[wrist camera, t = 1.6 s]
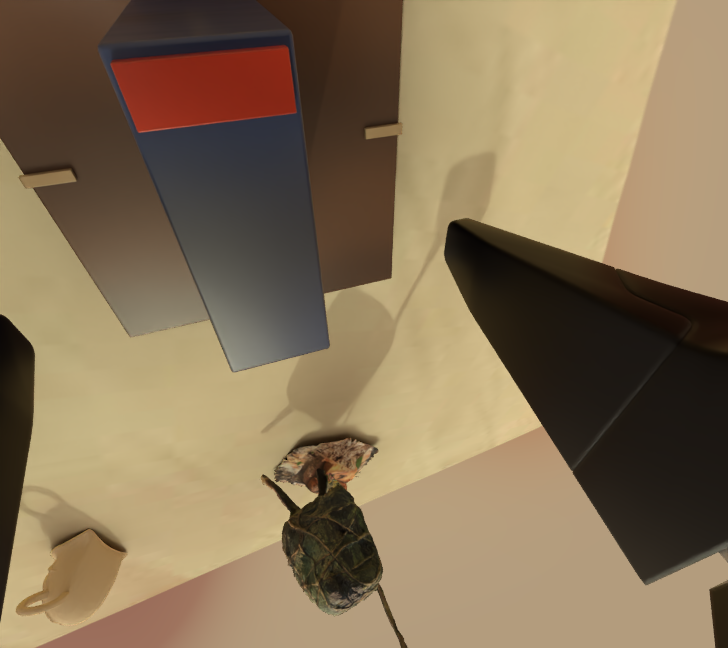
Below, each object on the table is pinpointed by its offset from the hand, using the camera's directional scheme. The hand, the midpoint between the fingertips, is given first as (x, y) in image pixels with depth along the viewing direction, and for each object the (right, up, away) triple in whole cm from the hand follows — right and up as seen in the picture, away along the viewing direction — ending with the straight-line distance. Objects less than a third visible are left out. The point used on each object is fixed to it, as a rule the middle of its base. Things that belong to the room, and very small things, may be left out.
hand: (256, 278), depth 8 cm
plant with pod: (-2, -13, +27) cm, 30 cm away
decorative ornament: (-21, -20, +25) cm, 38 cm away
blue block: (-2, +5, +5) cm, 7 cm away
